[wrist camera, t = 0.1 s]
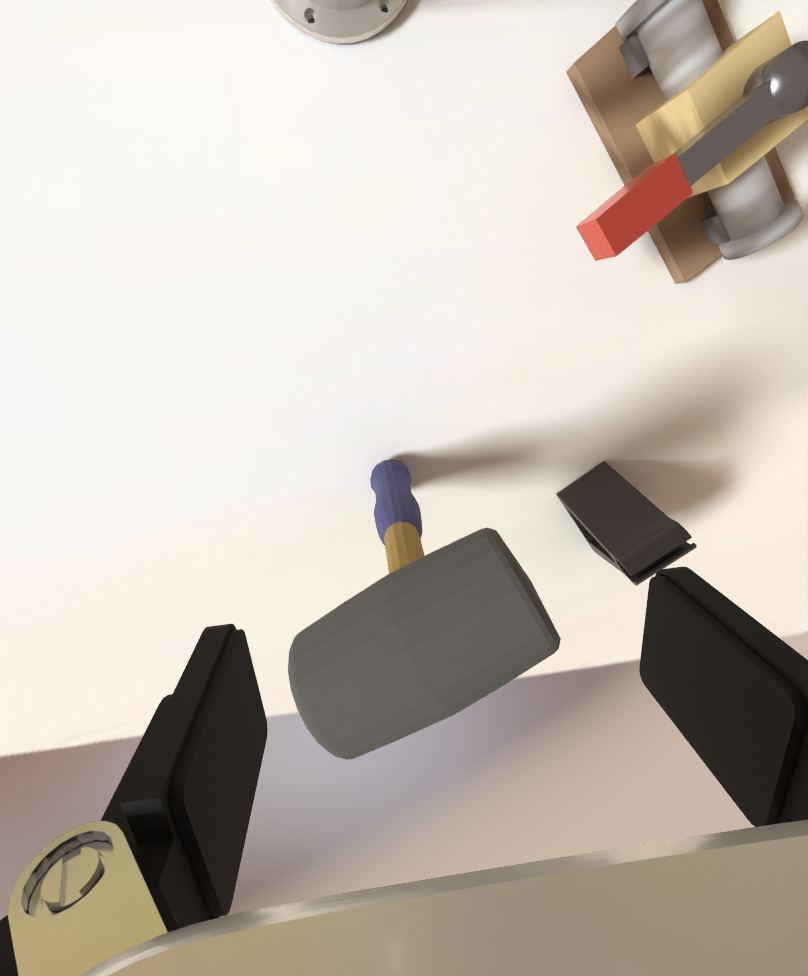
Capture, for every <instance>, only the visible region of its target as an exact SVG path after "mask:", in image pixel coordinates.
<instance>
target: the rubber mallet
mask: <svg viewBox="0 0 808 976" xmlns="http://www.w3.org/2000/svg"><path fill="white" fill-rule="evenodd" d="M370 481H371V487H372V489H373V490H374V492H375V493H376V504H375V509H374V516H375V522H376V527H377V531H378V534H379V537H380V539H381V541H382V542H383V544H384V545H385V547H386V554H387V561H388V568H389V574H388V575H387V576H385V577H383V578H382V579H380V580H379V581H377V582H376V583H374V584H372V585H371V586H369V587H368V588H366V589H365V590H363V591H361V592H360V593H358V594H357V595H355V596H354V597H352V598H350V599H349V600H347V601H346V602H344V603H343V604H341V605H340V606H338V607H337V608H335V609H334V610H332V611H331V612H329V613H328V614H326V615H325V616H323V617H322V618H320V619H319V620H317V621H316V622H314V623H313V624H311V625H310V626H308V627H307V628H305V629H304V630H303V631H301V632H300V633H298V634H297V635H296V637H295V638H294V640H293V643H292V645H291V648H290V652H289V663H288V674H289V680H290V686H291V691H292V694H293V697H294V700H295V703H296V706H297V709H298V711H299V713H300V715H301V717H302V719H303V721H304V723H305V725H306V727H307V729H308V730H309V732H310V733H311V734H312V736H313V737H314V738H315V740H316V741H317V742H318V743H319V744H320V745H321V746H322V747H324V748H325V749H326V750H328V751H329V752H330V753H331V754H333V755H334V756H336V757H340V758H343V759H354V758H356V757H358V756H361V755H363V754H366V753H368V752H370V751H373V750H375V749H377V748H380V747H382V746H385V745H387V744H389V743H392V742H394V741H397V740H399V739H401V738H403V737H405V736H408V735H410V734H412V733H414V732H417V731H419V730H421V729H423V728H425V727H428V726H430V725H432V724H434V723H436V722H439V721H441V720H443V719H445V718H448V717H450V716H452V715H454V714H456V713H457V712H459V711H461V710H463V709H464V708H466V707H468V706H469V705H471V704H473V703H475V702H476V701H478V700H479V699H481V698H483V697H485V696H486V695H488V694H490V693H491V692H493V691H495V690H497V689H498V688H500V687H502V686H503V685H505V684H506V683H508V682H510V681H511V680H513V679H514V678H516V677H518V676H519V675H521V674H522V673H524V672H525V671H527V670H529V669H530V668H532V667H533V666H535V665H536V664H538V663H540V662H541V661H543V660H544V659H546V658H548V657H549V656H551V655H552V654H554V653H555V652H556V651H557V650H558V648H559V644H560V637H559V635H558V633H557V631H556V629H555V627H554V625H553V623H552V621H551V619H550V617H549V615H548V613H547V611H546V609H545V608H544V606H543V604H542V602H541V600H540V598H539V596H538V594H537V592H536V590H535V588H534V586H533V584H532V582H531V580H530V579H529V577H528V576H527V575H526V573H525V572H524V570H523V569H522V567H521V566H520V564H519V563H518V561H517V560H516V559H515V557H514V556H513V554H512V553H511V551H510V550H509V548H508V547H507V545H506V544H505V542H504V541H503V540H502V538H501V537H500V535H499V534H498V532H497V531H496V530H493V529H490V528H484V529H481V530H478V531H476V532H474V533H472V534H470V535H468V536H466V537H464V538H461V539H459V540H457V541H455V542H453V543H451V544H449V545H447V546H444V547H442V548H440V549H438V550H436V551H434V552H432V553H430V554H428V555H426V556H424V552H423V548H422V544H421V540H420V538H421V535H422V521H421V513H420V508H419V505H418V503H417V501H416V499H415V498H414V496H413V495H412V493H411V490H410V486H409V485H410V482H411V479H410V473H409V471H408V470H407V468H406V466H405V465H404V464H402V463H401V462H398V461H394V460H385V461H383V462H381V463H379V464H378V465H376V466H375V468H374V469H373V471H372V475H371V479H370Z"/></svg>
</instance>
